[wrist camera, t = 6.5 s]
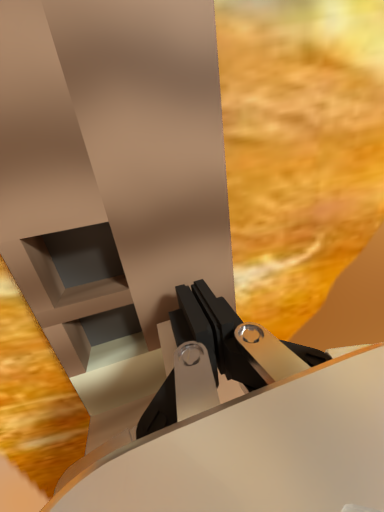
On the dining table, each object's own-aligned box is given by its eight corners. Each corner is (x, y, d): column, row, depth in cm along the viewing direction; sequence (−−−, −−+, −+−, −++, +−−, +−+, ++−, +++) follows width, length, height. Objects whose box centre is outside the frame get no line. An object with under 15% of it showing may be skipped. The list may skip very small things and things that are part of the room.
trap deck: (-80, 26, 8) (-374, -183, 3) (194, 22, 11) (252, -107, 6) (99, 392, 17) (88, 479, 12) (227, 347, 20) (260, 405, 15)
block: (156, 324, 13) (166, 378, 10) (221, 304, 14) (252, 347, 11) (169, 372, 15) (182, 433, 12) (226, 352, 16) (254, 402, 13)
